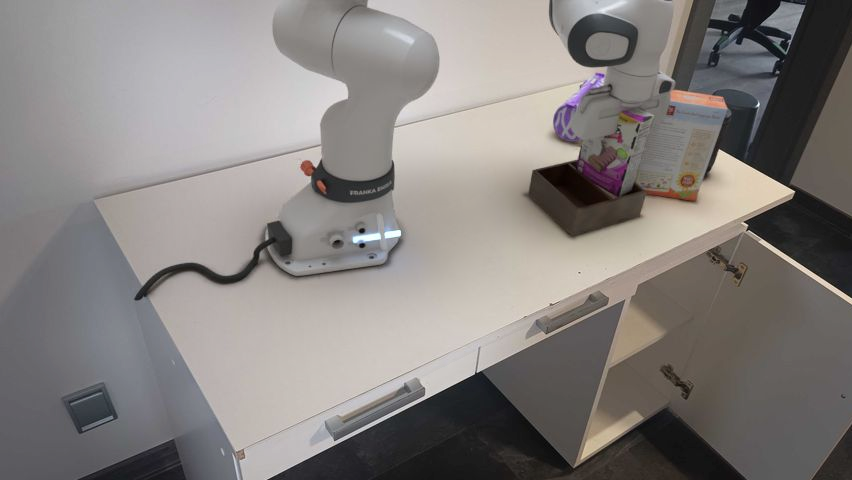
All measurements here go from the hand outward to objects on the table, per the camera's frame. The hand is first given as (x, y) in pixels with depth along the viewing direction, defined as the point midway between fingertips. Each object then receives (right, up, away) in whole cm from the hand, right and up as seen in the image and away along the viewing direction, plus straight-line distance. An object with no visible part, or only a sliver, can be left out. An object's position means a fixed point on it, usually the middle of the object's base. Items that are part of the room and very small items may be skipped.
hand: (611, 150), depth 129 cm
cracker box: (+12, -6, +14) cm, 19 cm away
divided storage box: (-5, -10, +5) cm, 12 cm away
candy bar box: (-1, -6, +5) cm, 7 cm away
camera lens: (+21, -1, +21) cm, 30 cm away
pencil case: (-2, +12, +32) cm, 34 cm away
